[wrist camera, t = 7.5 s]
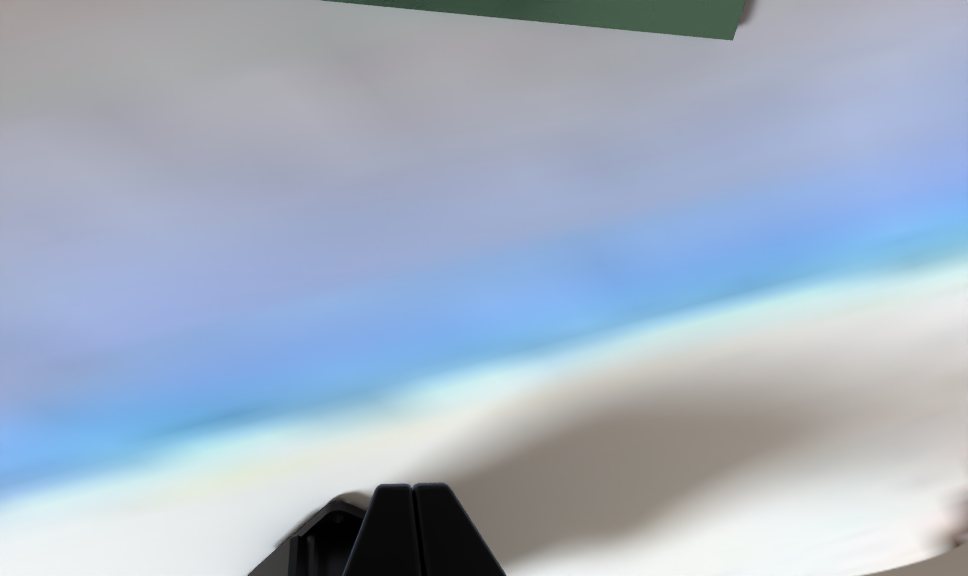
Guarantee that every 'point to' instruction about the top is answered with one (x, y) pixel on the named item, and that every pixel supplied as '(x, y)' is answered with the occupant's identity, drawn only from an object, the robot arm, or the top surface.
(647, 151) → the top surface
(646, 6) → the green railed baseplate
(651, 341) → the top surface
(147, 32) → the top surface
